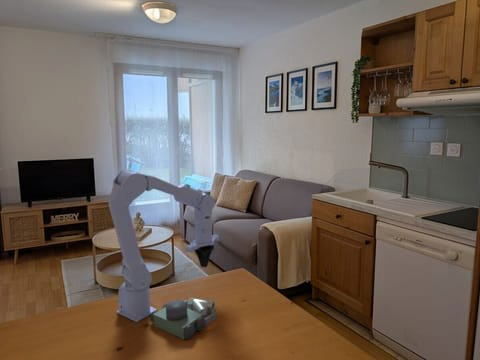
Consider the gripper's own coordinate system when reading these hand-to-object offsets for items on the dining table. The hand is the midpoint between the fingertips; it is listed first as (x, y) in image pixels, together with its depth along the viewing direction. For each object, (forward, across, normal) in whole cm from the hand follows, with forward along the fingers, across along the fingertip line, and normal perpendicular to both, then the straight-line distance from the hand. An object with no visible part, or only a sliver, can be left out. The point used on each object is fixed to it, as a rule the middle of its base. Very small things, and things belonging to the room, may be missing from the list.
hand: (203, 266), depth 122 cm
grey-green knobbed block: (+9, -17, -7) cm, 21 cm away
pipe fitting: (+10, -11, -8) cm, 17 cm away
